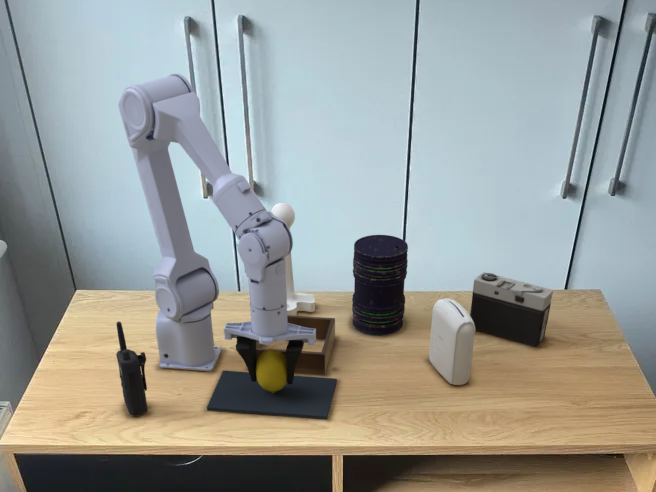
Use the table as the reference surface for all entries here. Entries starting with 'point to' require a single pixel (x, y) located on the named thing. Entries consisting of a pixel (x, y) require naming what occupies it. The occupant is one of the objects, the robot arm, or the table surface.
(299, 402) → the mat
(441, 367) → the photo printer
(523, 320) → the camera
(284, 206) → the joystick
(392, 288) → the dark navy cylinder
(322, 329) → the wooden frame
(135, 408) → the two-way radio
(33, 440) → the table surface
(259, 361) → the lemon
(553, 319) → the table surface
